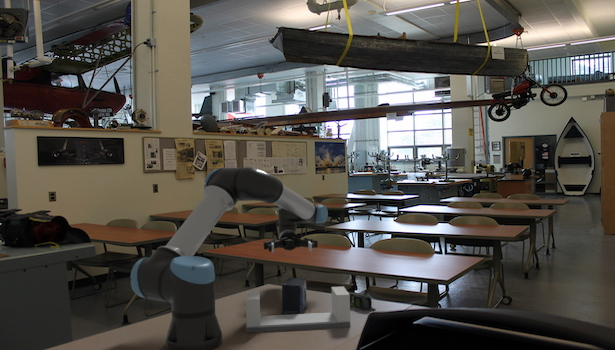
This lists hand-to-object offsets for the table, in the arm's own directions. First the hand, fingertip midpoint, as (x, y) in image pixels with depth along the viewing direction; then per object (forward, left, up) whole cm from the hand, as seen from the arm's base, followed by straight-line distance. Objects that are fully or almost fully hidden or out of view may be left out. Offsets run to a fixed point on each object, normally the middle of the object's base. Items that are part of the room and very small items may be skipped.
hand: (292, 248), depth 160 cm
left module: (-14, -22, -18) cm, 32 cm away
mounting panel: (0, -22, -20) cm, 30 cm away
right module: (+13, -22, -18) cm, 32 cm away
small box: (0, -10, -20) cm, 22 cm away
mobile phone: (+21, -8, -20) cm, 31 cm away
